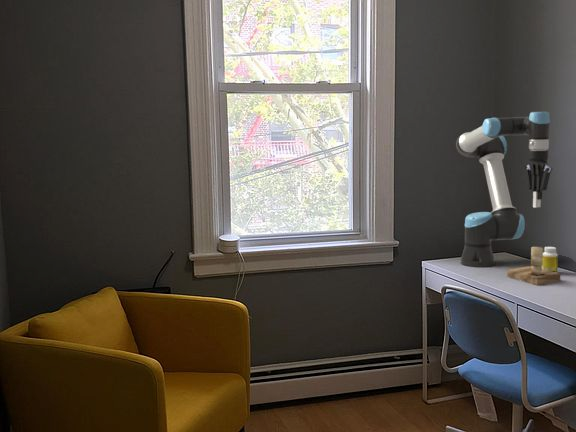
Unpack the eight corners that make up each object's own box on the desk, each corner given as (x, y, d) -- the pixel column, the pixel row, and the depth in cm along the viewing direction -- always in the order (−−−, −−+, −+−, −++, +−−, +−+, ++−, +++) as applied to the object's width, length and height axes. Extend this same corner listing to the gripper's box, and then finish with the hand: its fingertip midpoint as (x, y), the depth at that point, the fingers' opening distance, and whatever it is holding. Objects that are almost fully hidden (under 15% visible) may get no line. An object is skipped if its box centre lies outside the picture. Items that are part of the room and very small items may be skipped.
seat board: (506, 276, 260) (507, 269, 260) (529, 272, 266) (530, 266, 265) (536, 285, 246) (536, 278, 246) (560, 280, 251) (560, 273, 251)
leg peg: (527, 280, 253) (528, 247, 251) (535, 279, 255) (536, 246, 253) (536, 283, 249) (537, 249, 247) (544, 281, 251) (545, 248, 249)
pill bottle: (558, 274, 261) (559, 249, 259) (543, 274, 262) (544, 249, 261) (555, 271, 267) (556, 246, 265) (540, 271, 268) (541, 246, 267)
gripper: (519, 149, 256) (517, 206, 260) (544, 150, 245) (542, 209, 248) (532, 149, 260) (531, 204, 263) (558, 149, 248) (556, 208, 251)
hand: (536, 207), depth 256 cm, fingers closed
